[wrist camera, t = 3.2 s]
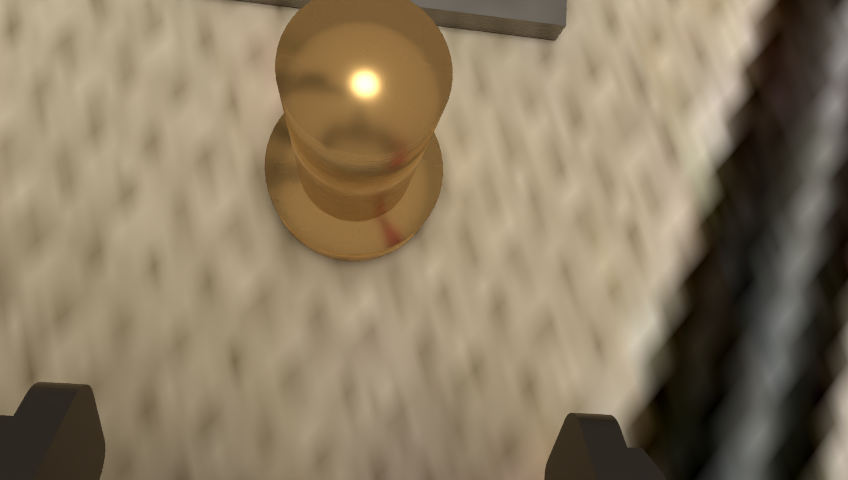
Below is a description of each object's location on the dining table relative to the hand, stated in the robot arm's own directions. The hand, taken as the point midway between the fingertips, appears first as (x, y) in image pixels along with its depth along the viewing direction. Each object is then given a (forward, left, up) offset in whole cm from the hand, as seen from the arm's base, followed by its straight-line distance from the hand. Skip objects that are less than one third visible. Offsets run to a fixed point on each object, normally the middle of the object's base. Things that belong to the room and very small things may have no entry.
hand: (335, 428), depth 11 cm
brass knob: (0, +7, -12) cm, 14 cm away
